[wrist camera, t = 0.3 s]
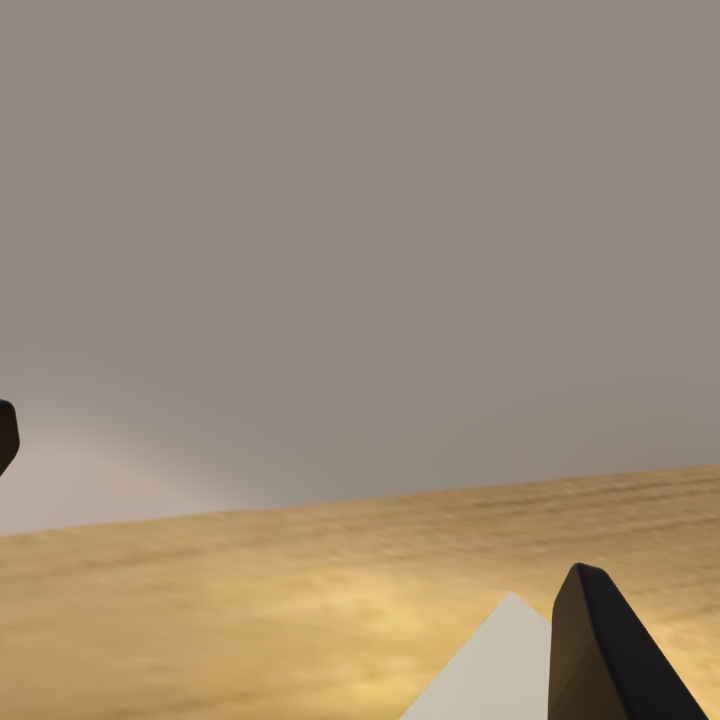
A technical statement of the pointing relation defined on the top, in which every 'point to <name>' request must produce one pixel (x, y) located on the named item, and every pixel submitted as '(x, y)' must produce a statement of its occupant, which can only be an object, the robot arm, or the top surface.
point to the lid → (494, 671)
